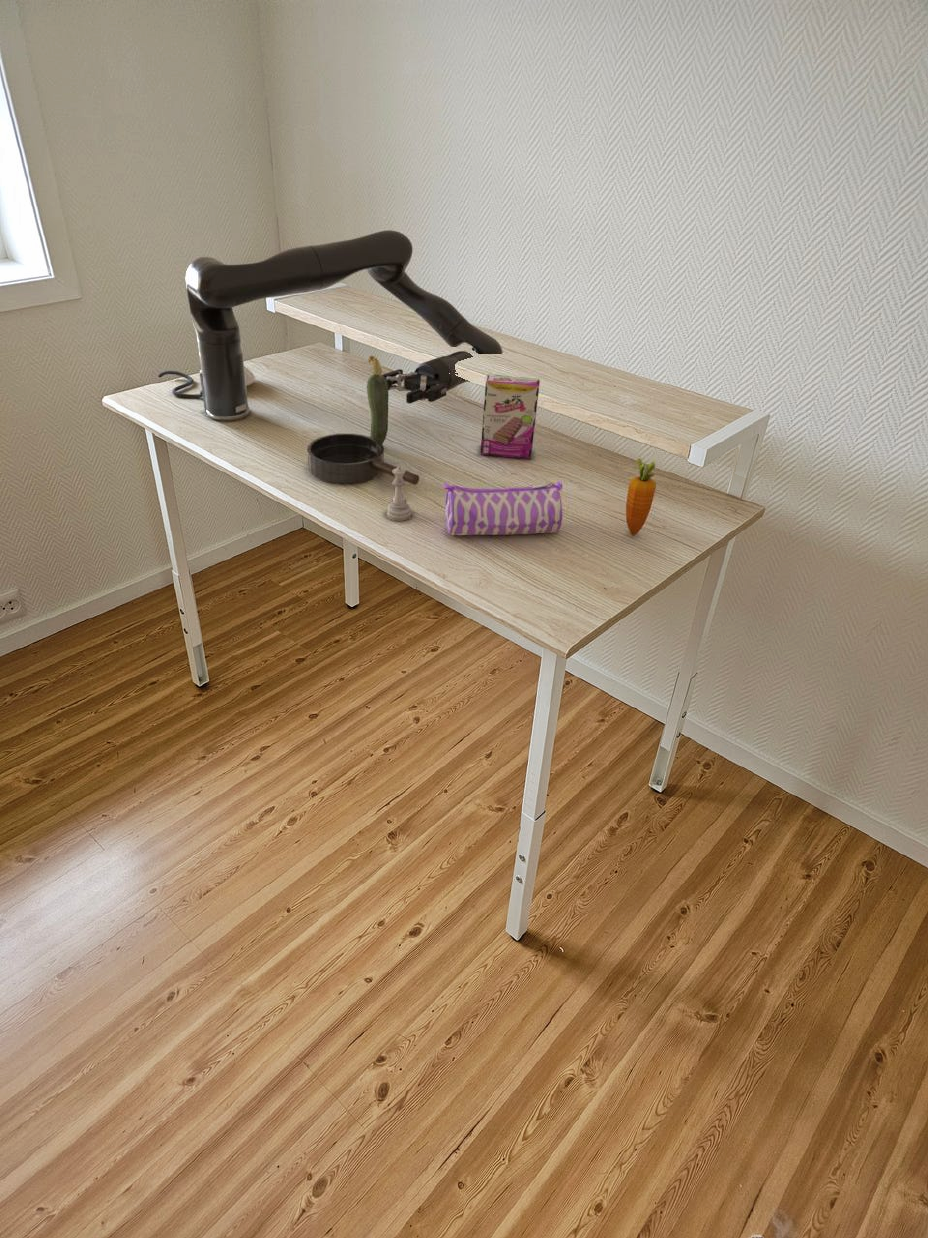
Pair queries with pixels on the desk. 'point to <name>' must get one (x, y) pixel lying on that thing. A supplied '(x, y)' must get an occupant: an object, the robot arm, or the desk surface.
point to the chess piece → (398, 498)
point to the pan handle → (389, 468)
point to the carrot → (640, 498)
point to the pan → (344, 458)
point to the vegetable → (378, 401)
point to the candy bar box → (509, 416)
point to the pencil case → (503, 510)
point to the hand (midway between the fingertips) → (392, 393)
